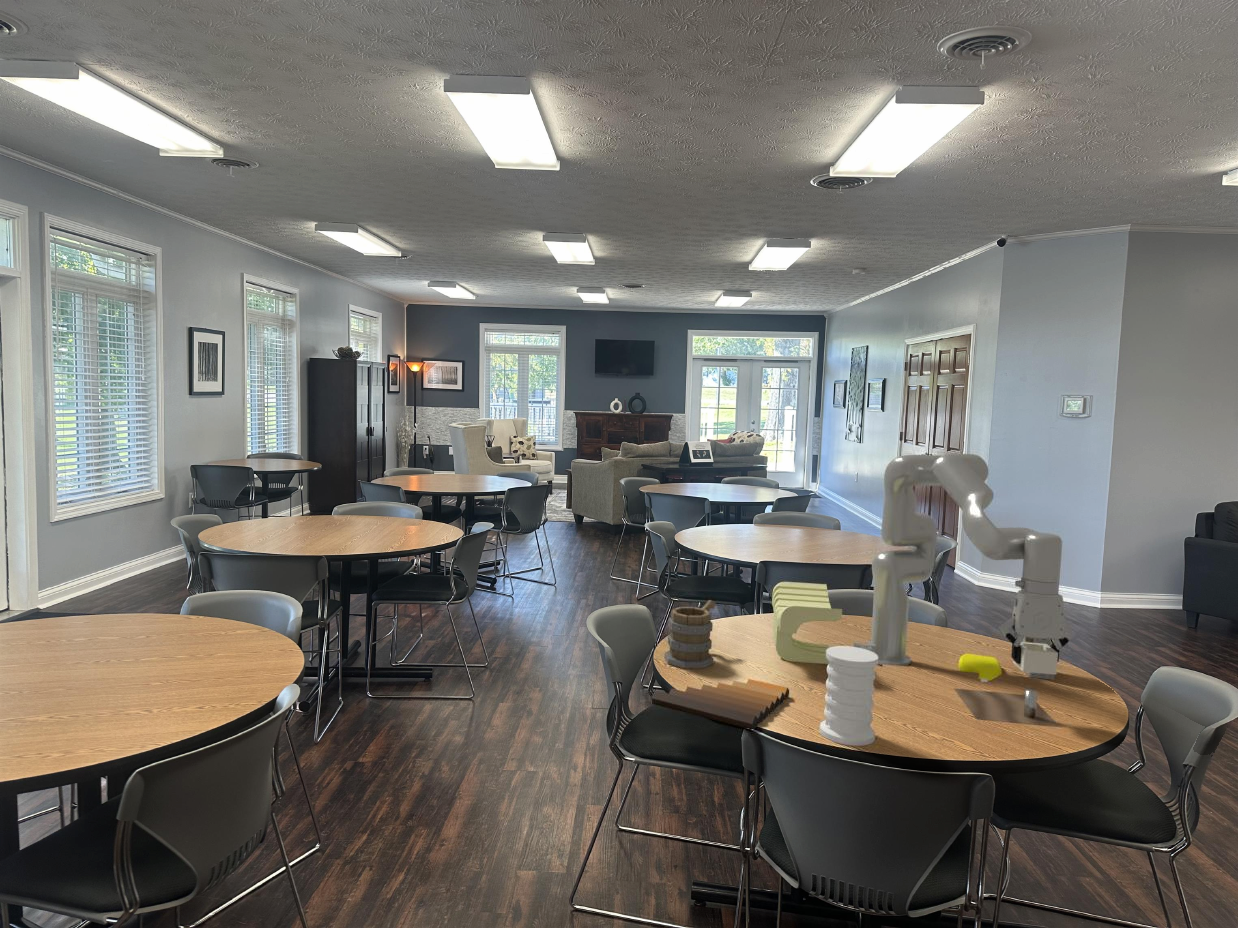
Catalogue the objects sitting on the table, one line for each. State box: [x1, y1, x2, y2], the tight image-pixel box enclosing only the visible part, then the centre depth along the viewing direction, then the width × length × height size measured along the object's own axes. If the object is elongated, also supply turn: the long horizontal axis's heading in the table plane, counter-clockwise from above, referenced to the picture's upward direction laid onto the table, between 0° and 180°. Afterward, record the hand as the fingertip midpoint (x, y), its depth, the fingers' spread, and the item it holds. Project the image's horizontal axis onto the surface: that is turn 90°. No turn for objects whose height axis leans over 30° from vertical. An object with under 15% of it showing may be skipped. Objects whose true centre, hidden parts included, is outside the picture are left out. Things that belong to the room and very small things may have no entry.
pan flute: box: [650, 678, 790, 730], centre depth 187 cm, size 25×3×25 cm
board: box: [953, 688, 1061, 728], centre depth 187 cm, size 18×20×2 cm
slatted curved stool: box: [771, 581, 843, 665], centre depth 225 cm, size 30×16×18 cm, turn 173°
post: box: [1024, 688, 1038, 718], centre depth 181 cm, size 2×2×6 cm
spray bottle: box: [957, 653, 1003, 683], centre depth 212 cm, size 3×11×25 cm
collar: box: [1012, 641, 1058, 676], centre depth 180 cm, size 7×7×5 cm
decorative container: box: [819, 645, 879, 747], centre depth 170 cm, size 12×12×18 cm
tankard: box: [664, 599, 717, 670], centre depth 218 cm, size 20×13×15 cm, turn 143°
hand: (1034, 662), depth 180 cm, fingers closed on collar, 7 cm apart
